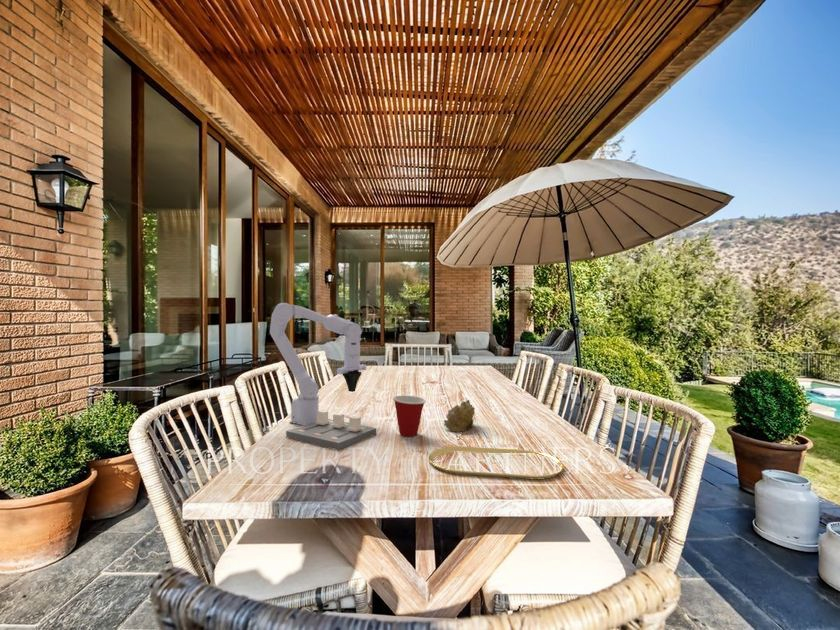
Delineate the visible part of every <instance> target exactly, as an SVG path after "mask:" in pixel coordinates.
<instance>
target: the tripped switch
mask: <svg viewBox="0 0 840 630" xmlns="http://www.w3.org/2000/svg"><path fill="white" fill-rule="evenodd" d="M332 420H333V424H331V427H335V428H341V427H344V426H346V424H345V423H344V422H345V414H344V413H339V412H336V413H333V414H332Z"/></svg>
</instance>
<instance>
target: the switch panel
mask: <svg viewBox="0 0 840 630" xmlns="http://www.w3.org/2000/svg"><path fill="white" fill-rule="evenodd" d="M328 420H329V421H330V423H328V424H325V425H320V424H316V422H314V423H310V424H307V425H300V426H299V427H294V428H292V429H291V428H290V429H288V430H286V432H285V434H286V435H285V437H286V438H287V437H288V438H289V439H292V440H297V441H301V442H305V443H308V444H313V445H317V446H322V447H325V446H326V447H325V448H329V447H330V448H329V449H333V448H334V449H333V450H336V451H337V450H338V451H339V450H341V449H344V448H346V447H349V446H351V445H354V444H356V443H359V442H361V441H364V440H365V439H369V438H371V437H372V436H373V437H374V436H375V435H377V428H376V427H373V426H367V425H361V427H362V430H359V431H356V432H354V431H349V430H348V427H349V422H347V421H344V423H345V424H346V426H344V427H341V428H335V427H331V424H333V419H330V418H328ZM288 438H287V439H288Z"/></svg>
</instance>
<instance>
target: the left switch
mask: <svg viewBox="0 0 840 630" xmlns="http://www.w3.org/2000/svg"><path fill="white" fill-rule="evenodd" d="M328 419H329V411H328V410H321V409H320V410H319V411H317V421H316V424H320V425H325V424H328V423H330V421H329V420H328Z"/></svg>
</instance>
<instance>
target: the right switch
mask: <svg viewBox="0 0 840 630" xmlns="http://www.w3.org/2000/svg"><path fill="white" fill-rule="evenodd" d="M348 420H349V422H348V423H349V427H348V430H349V431H354V432H356V431H359V430H362V427H361V424H362V423H361V422H362V421H361V420H362V417H361V416H356V415H352V416H350V417H349V419H348Z"/></svg>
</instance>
